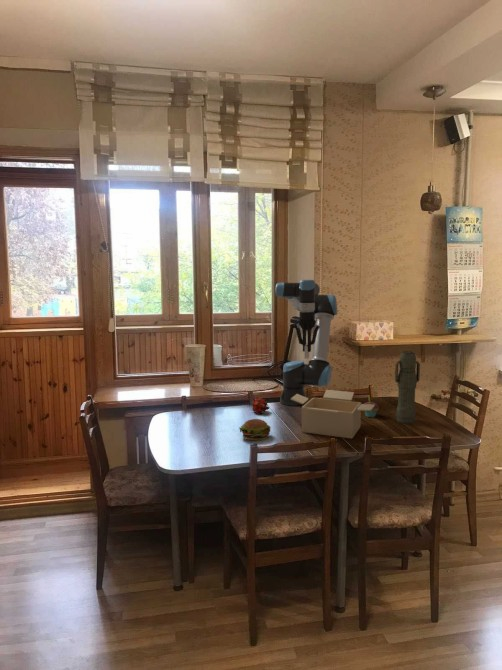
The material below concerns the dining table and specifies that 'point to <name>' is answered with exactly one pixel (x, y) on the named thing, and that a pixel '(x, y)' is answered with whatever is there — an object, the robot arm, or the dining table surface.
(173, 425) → the dining table surface
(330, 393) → the flap far
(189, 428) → the dining table surface
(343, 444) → the dining table surface
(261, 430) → the food
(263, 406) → the dragon fruit
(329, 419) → the carton
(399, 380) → the thermos
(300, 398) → the flap arm end
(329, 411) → the flap near
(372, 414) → the cupcake
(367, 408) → the flap far end
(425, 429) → the dining table surface
